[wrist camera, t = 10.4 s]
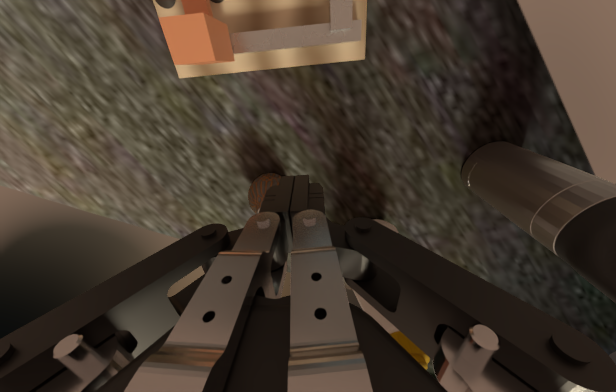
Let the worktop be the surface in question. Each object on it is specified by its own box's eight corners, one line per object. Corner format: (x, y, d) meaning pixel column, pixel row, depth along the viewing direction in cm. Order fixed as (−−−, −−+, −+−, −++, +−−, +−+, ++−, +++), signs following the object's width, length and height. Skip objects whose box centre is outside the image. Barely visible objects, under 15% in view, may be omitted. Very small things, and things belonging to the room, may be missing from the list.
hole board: (366, -70, 24) (370, -76, 23) (362, 59, 30) (365, 59, 29) (143, -43, 25) (136, -48, 24) (183, 77, 31) (179, 78, 30)
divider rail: (359, -42, 24) (366, -56, 22) (357, 41, 28) (363, 39, 26) (155, -19, 25) (137, -29, 22) (180, 60, 29) (168, 59, 26)
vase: (276, 160, 38) (269, 184, 30) (299, 189, 41) (297, 218, 33) (245, 179, 39) (231, 207, 32) (268, 207, 43) (261, 238, 35)
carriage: (220, -27, 25) (182, -68, 17) (238, 61, 29) (215, 60, 21) (184, -23, 25) (131, -62, 17) (208, 64, 29) (174, 64, 21)
